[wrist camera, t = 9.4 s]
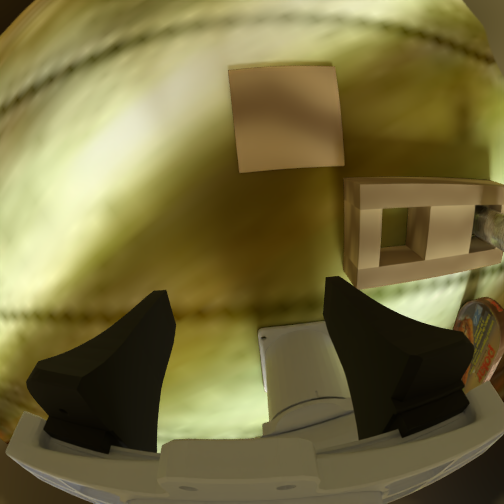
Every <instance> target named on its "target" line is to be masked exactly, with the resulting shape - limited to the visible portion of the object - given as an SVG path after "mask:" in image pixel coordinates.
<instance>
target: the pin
mask: <svg viewBox="0 0 504 504" xmlns="http://www.w3.org/2000/svg"><path fill="white" fill-rule="evenodd" d="M472 233H473V234H474V235H476V236H478V237H480V238H482V239H483V240H485V241H487V242H488V243H490V244H492V245H493V246H495V247H497V248H498V249H500V250H502V251H503V252H504V214H503V213H500V212H498V211H496V210H493V209H491V208H489V207H486V206H484V205H475V212H474V221H473V229H472Z"/></svg>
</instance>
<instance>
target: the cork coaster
mask: <svg viewBox="0 0 504 504" xmlns="http://www.w3.org/2000/svg"><path fill="white" fill-rule="evenodd" d="M228 73H229V83H230V92H231V101H232V110H233V119H234V128H235V138H236V147H237V156H238V165H239V173H245V172H255V171H266V170H277V169H291V168H306V167H326V166H345V164H344V147H343V133H342V122H341V111H340V102H339V93H338V85H337V78H336V71H335V67H331V66H274V67H257V68H245V69H236V70H228Z"/></svg>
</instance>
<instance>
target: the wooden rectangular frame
mask: <svg viewBox="0 0 504 504" xmlns="http://www.w3.org/2000/svg"><path fill="white" fill-rule="evenodd" d="M343 179H344V263H343V271H344V272H345V274H346V275H347V277H348V278H349V280H350V281H351V283H352V284H353V286H354V287H355V288H357V289H358V290H360V289H367V288H373V287H380V286H386V285H392V284H398V283H404V282H410V281H416V280H421V279H427V278H432V277H437V276H443V275H448V274H453V273H458V272H462V271H467V270H472V269H476V268H481V267H485V266H490V265H494V264H498V263H501V260H502V255H503V251H502V250H500V249H498V248H497V247H495V246H493V245H492V244H490V243H488V242H487V241H485V240H483V239H482V238H480V237H478V236H476V235H475V237H471V236H472V229H473V221H474V212H475V205H484V206H486V207H489V208H491V209H493V210H496V211H498V212H500V213H503V214H504V185H503V184H500V183H497V182H494V181H491V180H480V179H464V178H441V177H355V178H343ZM403 207H408V220H407V233H406V244H405V245H402V246H393V247H384V248H380V246H381V230H382V209H384V208H403Z"/></svg>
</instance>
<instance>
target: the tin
mask: <svg viewBox="0 0 504 504" xmlns="http://www.w3.org/2000/svg"><path fill="white" fill-rule="evenodd" d="M453 330H456V331H462V332H463V333H464V334H465V335H466V336H467V338H468V339H469V340H470V341H471V343H472V344H473V345H474V349H475V350H474V355H473V359H472V361H471V363H470V365H469V367H468V368H467V370H466V372H465V374H464V375H463V377H462V379H461V380H462V381H463V383H464V384H465V387H464V388H463V389H462V390H463V392H464V394H465V395H466V394H467V393H468V392H469V391H470V390H472V389H473V388H475V387H477V386H479V385H481V384H483V383H485V382H486V381H489V380H490V379H491V377H492V375H493V373H494V371H495V369H496V367H497V365H498V363H499V361H500V359H501V357H502V355H503V353H504V309H503V308H502V307H501V306H500V304H499V303H497V302H496V301H495V300H493V299H491V298H489V297H482V298H478V299H476V300H471V301H468V302H467V303H465V304H464V305H463V306H462V308H461V309H460V311H459V313H458V315H457V318H456V322H455V325H454V328H453Z"/></svg>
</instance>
